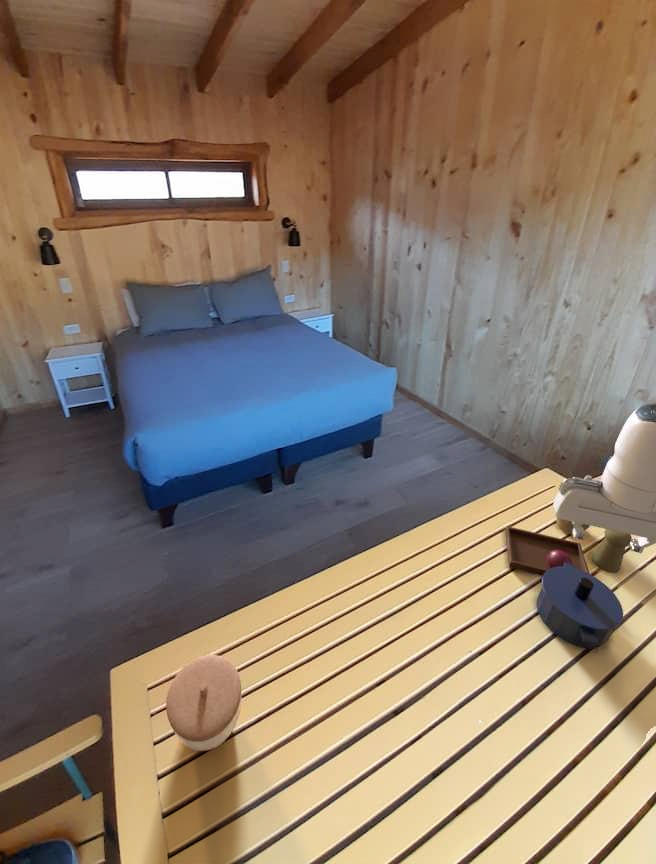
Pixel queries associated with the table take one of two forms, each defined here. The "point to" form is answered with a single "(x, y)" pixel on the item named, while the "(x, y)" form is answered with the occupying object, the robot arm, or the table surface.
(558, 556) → the beet
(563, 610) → the lid
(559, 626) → the pot
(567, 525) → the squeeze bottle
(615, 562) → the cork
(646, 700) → the table surface
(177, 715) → the lidded bowl
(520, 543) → the tray
